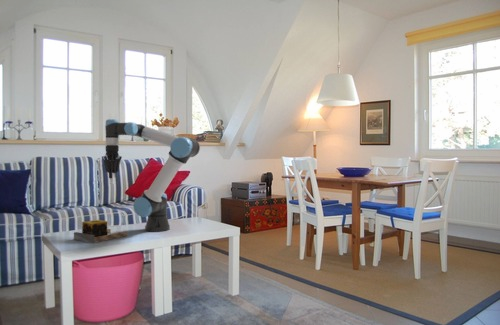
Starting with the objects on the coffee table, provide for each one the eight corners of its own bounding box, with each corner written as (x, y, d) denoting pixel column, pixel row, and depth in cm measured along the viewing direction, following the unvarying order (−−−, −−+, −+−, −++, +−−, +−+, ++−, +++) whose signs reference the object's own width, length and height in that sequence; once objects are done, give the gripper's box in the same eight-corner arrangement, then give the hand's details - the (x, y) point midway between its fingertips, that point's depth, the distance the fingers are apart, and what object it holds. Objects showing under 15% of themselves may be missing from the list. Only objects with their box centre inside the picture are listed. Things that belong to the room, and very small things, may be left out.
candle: (91, 242, 213) (91, 223, 213) (81, 239, 219) (81, 221, 219) (108, 239, 221) (108, 221, 221) (97, 236, 227) (97, 219, 227)
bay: (109, 232, 238) (108, 226, 238) (126, 235, 229) (126, 229, 229) (73, 239, 219) (73, 232, 219) (92, 243, 210) (91, 235, 210)
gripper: (116, 145, 249) (116, 182, 249) (99, 144, 238) (99, 183, 238) (124, 145, 245) (124, 183, 245) (107, 144, 234) (107, 184, 234)
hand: (112, 183), depth 242 cm, fingers closed
